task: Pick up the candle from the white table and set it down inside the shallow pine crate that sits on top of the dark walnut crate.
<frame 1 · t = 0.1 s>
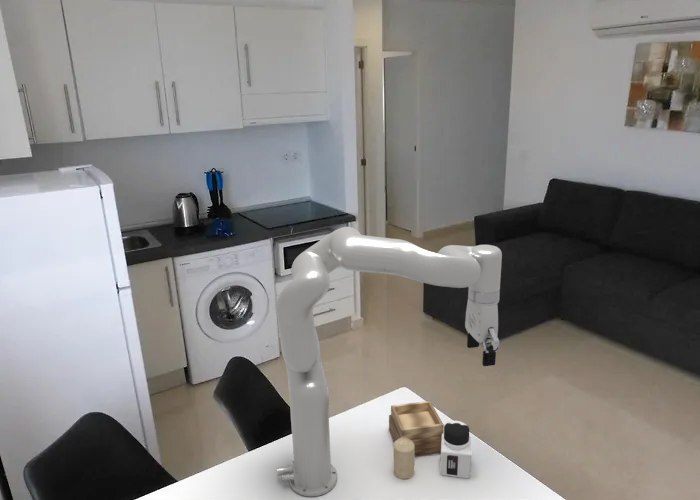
hand: (480, 355, 135), 31 cm above the table, tool pointing down, fingers open, 9 cm apart
candle: (403, 472, 139), on the table
container: (455, 468, 141), on the table
base crate: (416, 440, 152), on the table
top crate: (416, 425, 150), resting on base crate
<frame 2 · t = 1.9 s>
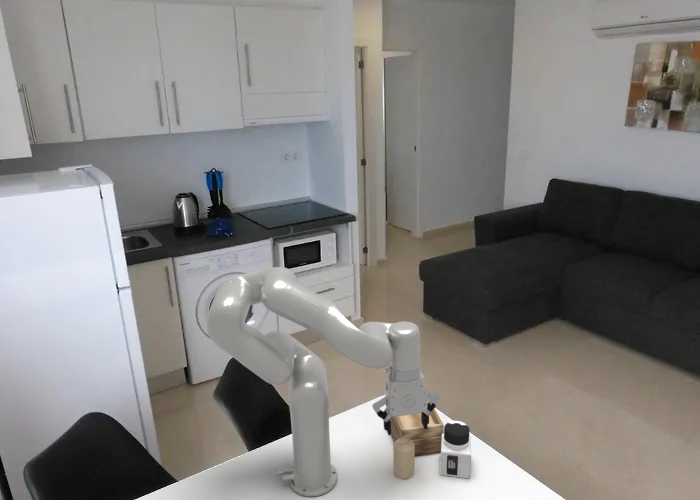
hand: (406, 428, 135), 13 cm above the table, tool pointing down, fingers open, 9 cm apart
nothing on the table moved.
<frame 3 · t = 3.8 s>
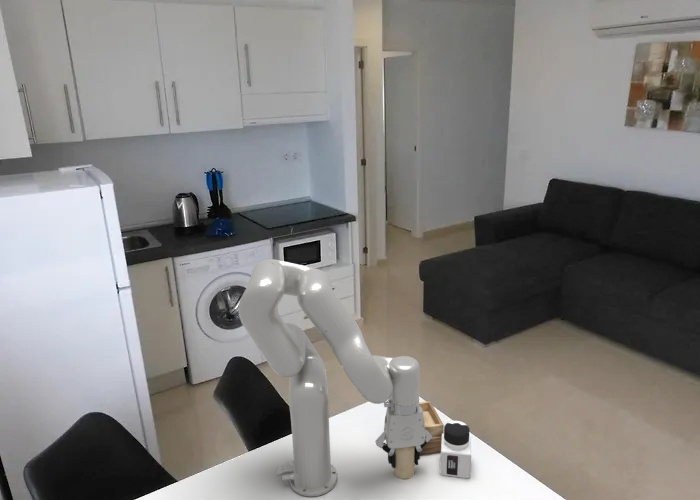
hand: (403, 462, 139), 3 cm above the table, tool pointing down, fingers closed on candle, 5 cm apart
candle: (403, 472, 139), on the table, touching gripper
everything else where it was.
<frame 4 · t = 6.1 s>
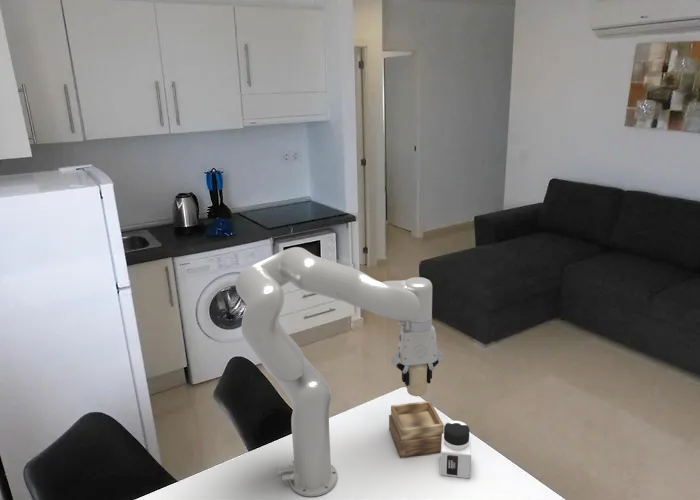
hand: (416, 381, 146), 19 cm above the table, tool pointing down, fingers closed on candle, 5 cm apart
candle: (416, 391, 147), point 16 cm above the table, touching gripper
everything else where it was.
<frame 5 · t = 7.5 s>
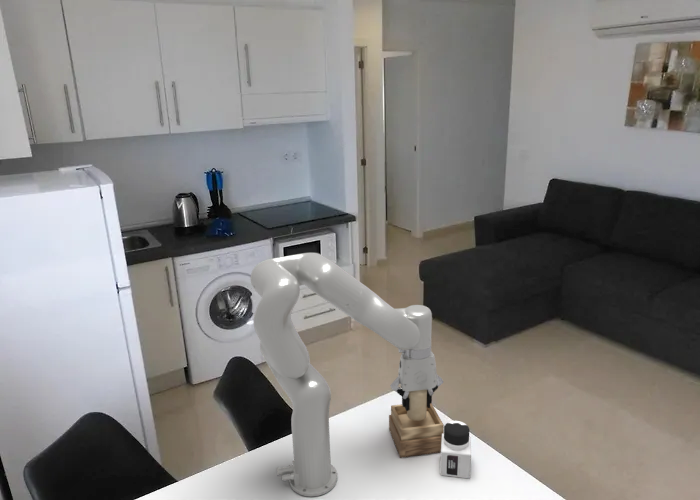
hand: (416, 406, 148), 11 cm above the table, tool pointing down, fingers closed on candle, 5 cm apart
candle: (416, 416, 149), point 8 cm above the table, touching gripper
everything else where it was.
when the fingers open (10 cm above the table, at t = 8.6 s): candle drops 1 cm, resting on top crate.
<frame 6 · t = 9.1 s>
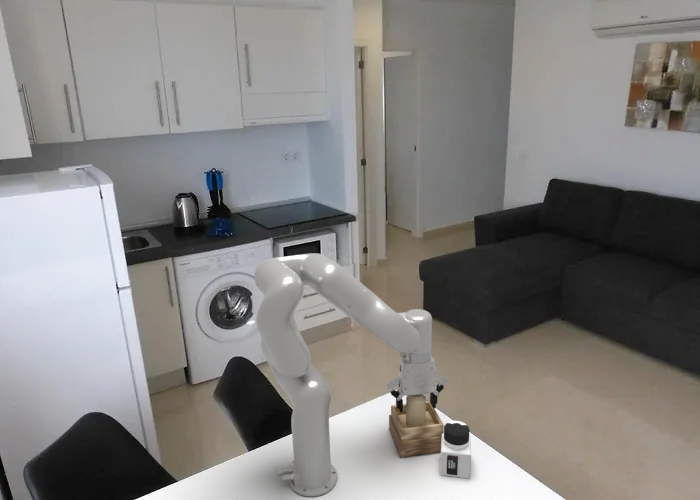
hand: (416, 407, 149), 11 cm above the table, tool pointing down, fingers open, 9 cm apart
candle: (415, 424, 150), point 5 cm above the table, touching top crate
everything else where it was.
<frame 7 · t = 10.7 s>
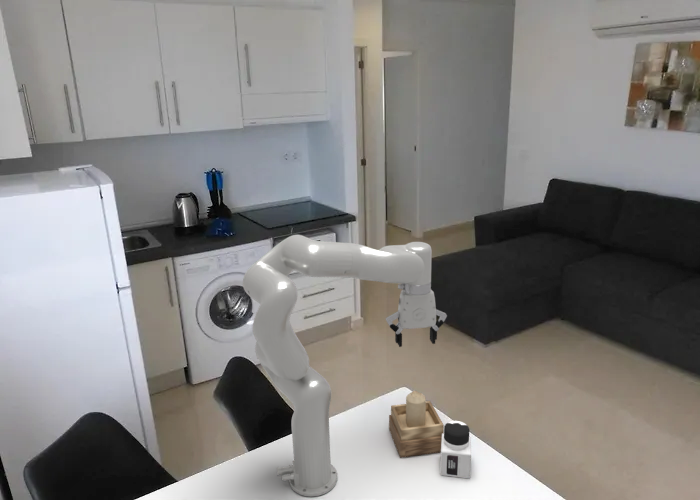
hand: (415, 343, 148), 28 cm above the table, tool pointing down, fingers open, 9 cm apart
nothing on the table moved.
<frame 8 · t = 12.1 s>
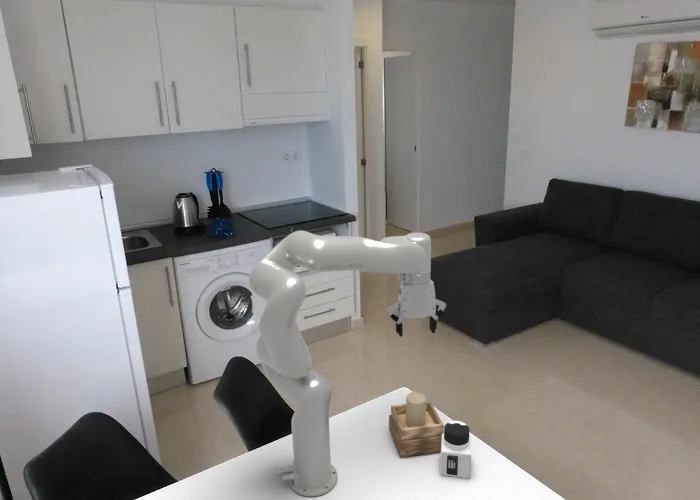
hand: (416, 332, 151), 30 cm above the table, tool pointing down, fingers open, 9 cm apart
nothing on the table moved.
at the end: candle inside the target area on the top crate (0.2 cm from its centre), point 0.4 cm above the top crate's base; candle tilted 0°; the gripper is holding nothing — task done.
